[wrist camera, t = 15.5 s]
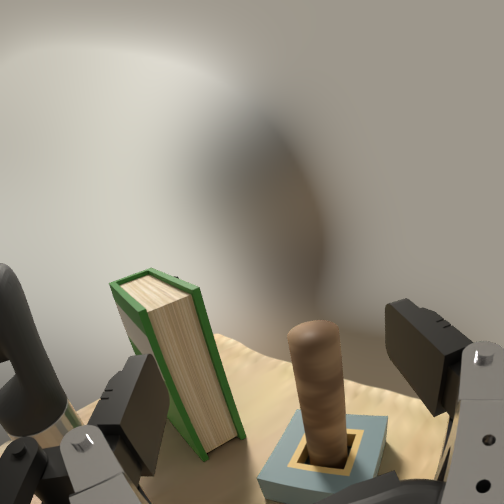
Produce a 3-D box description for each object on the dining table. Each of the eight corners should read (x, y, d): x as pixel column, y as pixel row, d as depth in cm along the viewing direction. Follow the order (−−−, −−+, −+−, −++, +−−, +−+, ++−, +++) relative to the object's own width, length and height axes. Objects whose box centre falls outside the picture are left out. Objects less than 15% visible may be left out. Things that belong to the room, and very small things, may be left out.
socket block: (265, 498, 29) (256, 478, 28) (301, 433, 39) (296, 409, 38) (364, 516, 23) (366, 497, 22) (385, 440, 33) (387, 416, 32)
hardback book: (246, 437, 41) (199, 287, 35) (203, 462, 37) (138, 311, 31) (192, 388, 55) (151, 267, 49) (158, 405, 51) (108, 283, 45)
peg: (306, 478, 30) (279, 345, 25) (318, 452, 34) (297, 319, 29) (341, 483, 28) (331, 348, 23) (351, 456, 32) (343, 320, 27)
